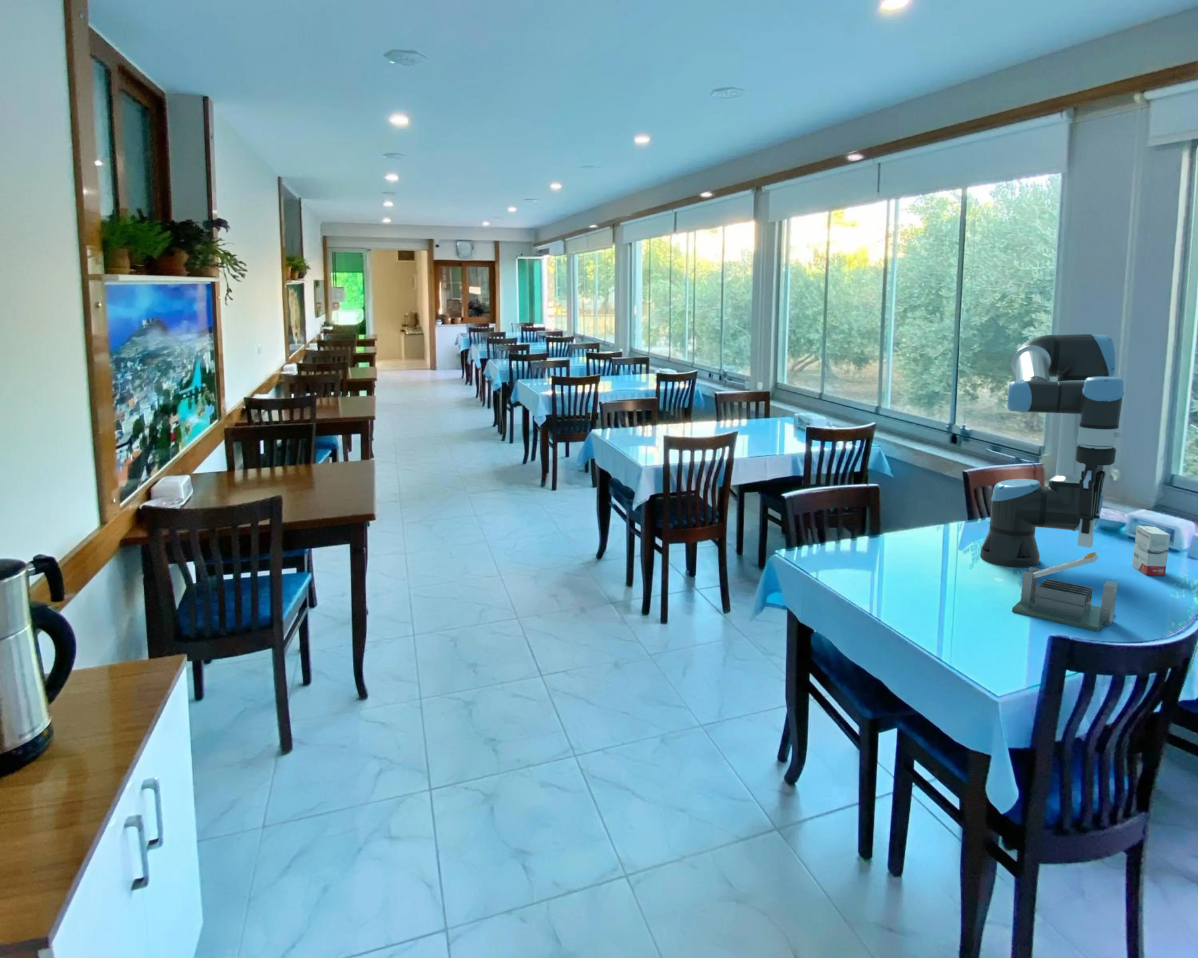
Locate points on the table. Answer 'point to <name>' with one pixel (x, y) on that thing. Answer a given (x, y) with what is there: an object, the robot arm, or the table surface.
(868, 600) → the table surface
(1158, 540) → the ink box
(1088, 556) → the strap
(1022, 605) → the heatsink
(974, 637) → the table surface
